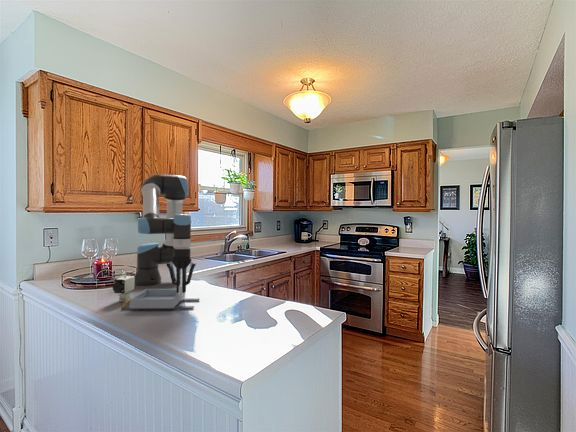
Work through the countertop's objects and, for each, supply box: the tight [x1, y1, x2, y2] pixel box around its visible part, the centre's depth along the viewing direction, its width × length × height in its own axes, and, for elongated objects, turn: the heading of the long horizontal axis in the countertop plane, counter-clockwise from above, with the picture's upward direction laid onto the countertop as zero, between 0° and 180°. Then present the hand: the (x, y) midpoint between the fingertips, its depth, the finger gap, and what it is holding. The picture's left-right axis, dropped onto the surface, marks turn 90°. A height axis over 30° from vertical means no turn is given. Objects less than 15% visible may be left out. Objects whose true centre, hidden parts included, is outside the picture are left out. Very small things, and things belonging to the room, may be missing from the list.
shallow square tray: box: [129, 288, 185, 308], centre depth 140 cm, size 18×18×4 cm
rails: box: [120, 297, 200, 311], centre depth 140 cm, size 14×31×2 cm, turn 95°
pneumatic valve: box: [112, 274, 137, 303], centre depth 146 cm, size 6×12×12 cm, turn 174°
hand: (180, 299), depth 141 cm, fingers closed
